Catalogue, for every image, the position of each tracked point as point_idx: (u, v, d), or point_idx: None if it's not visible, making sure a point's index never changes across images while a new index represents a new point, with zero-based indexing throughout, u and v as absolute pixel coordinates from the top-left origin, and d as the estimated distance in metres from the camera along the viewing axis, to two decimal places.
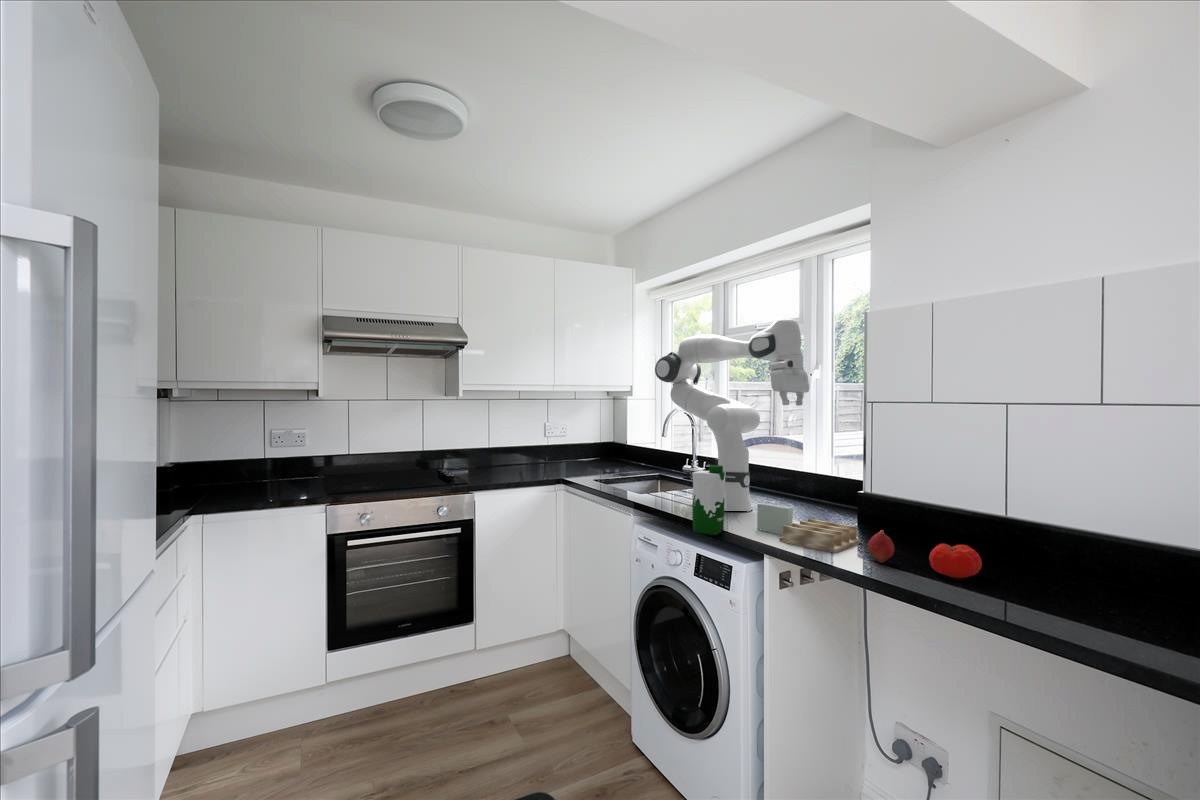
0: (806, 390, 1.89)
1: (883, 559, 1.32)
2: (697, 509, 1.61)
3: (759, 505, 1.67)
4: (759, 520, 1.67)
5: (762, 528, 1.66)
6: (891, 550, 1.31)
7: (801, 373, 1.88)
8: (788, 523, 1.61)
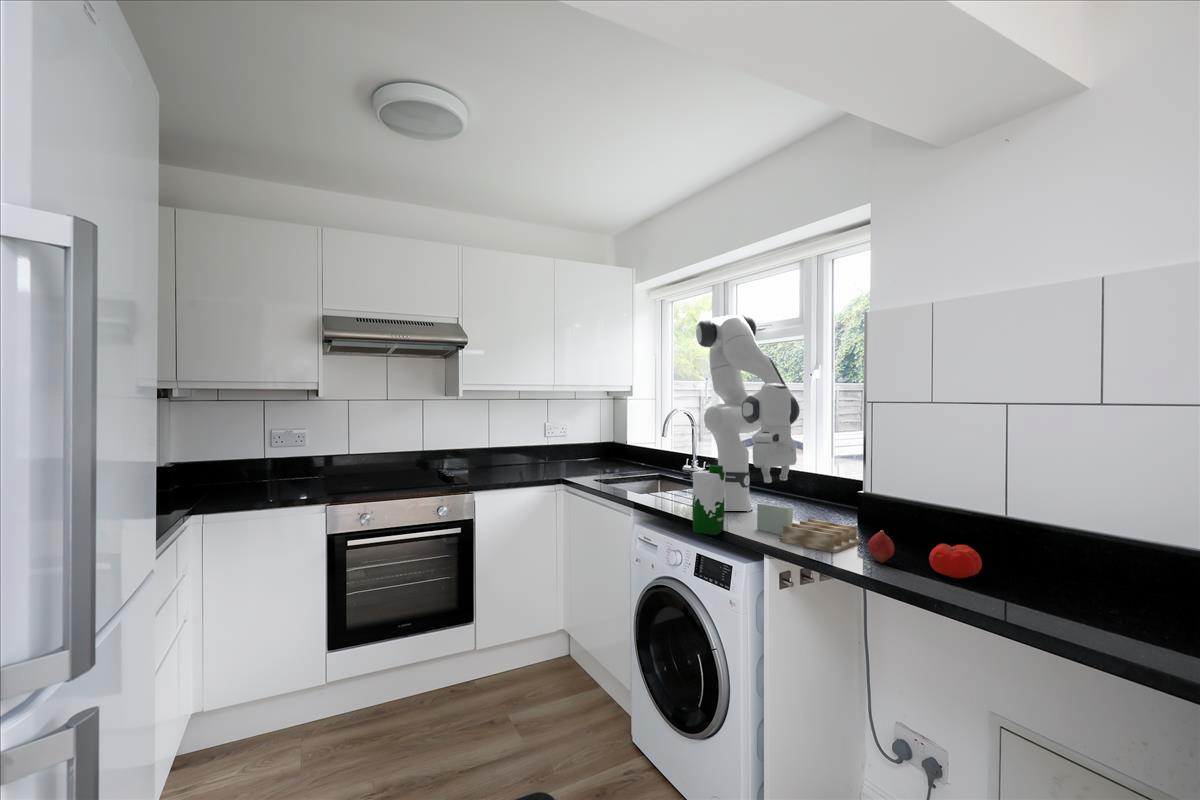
0: (792, 463, 1.69)
1: (883, 559, 1.32)
2: (697, 509, 1.61)
3: (759, 505, 1.67)
4: (759, 520, 1.67)
5: (762, 528, 1.66)
6: (891, 550, 1.31)
7: (788, 445, 1.67)
8: (788, 523, 1.61)
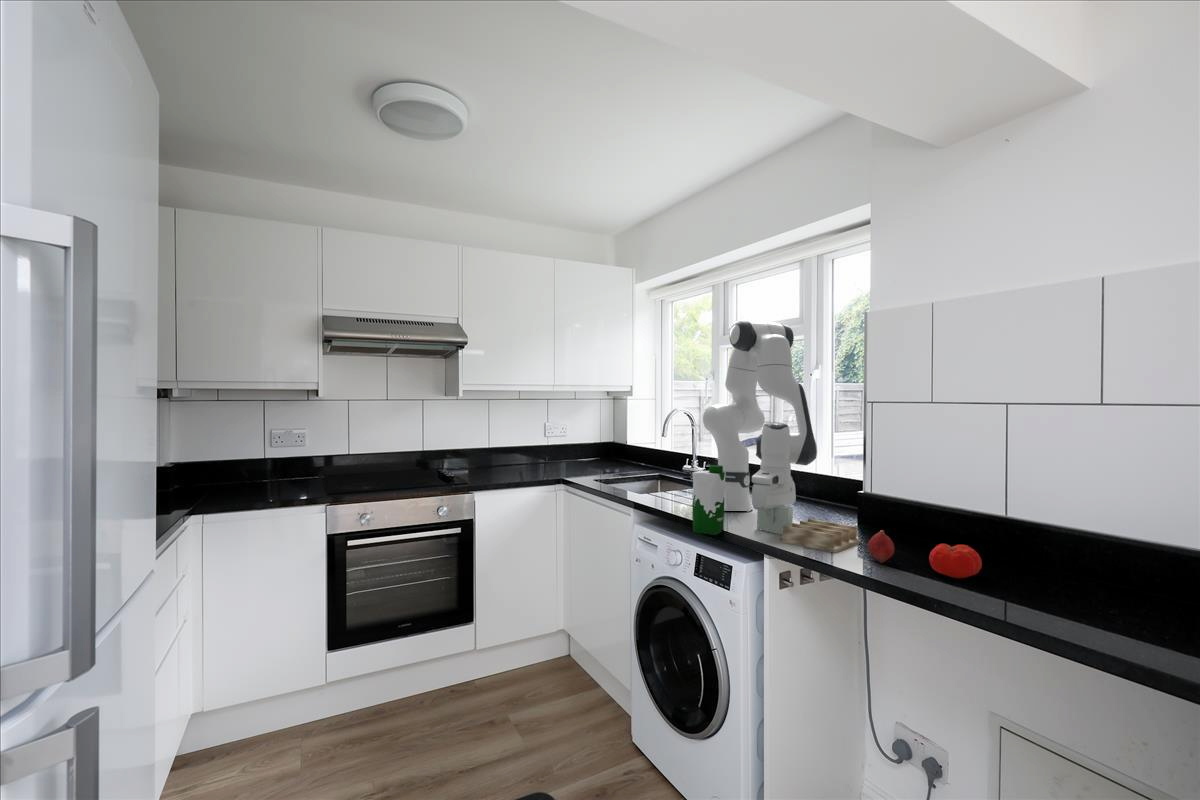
0: (792, 502, 1.69)
1: (883, 559, 1.32)
2: (697, 509, 1.61)
3: None
4: (759, 520, 1.67)
5: (762, 528, 1.66)
6: (891, 550, 1.31)
7: (788, 484, 1.67)
8: (788, 523, 1.61)
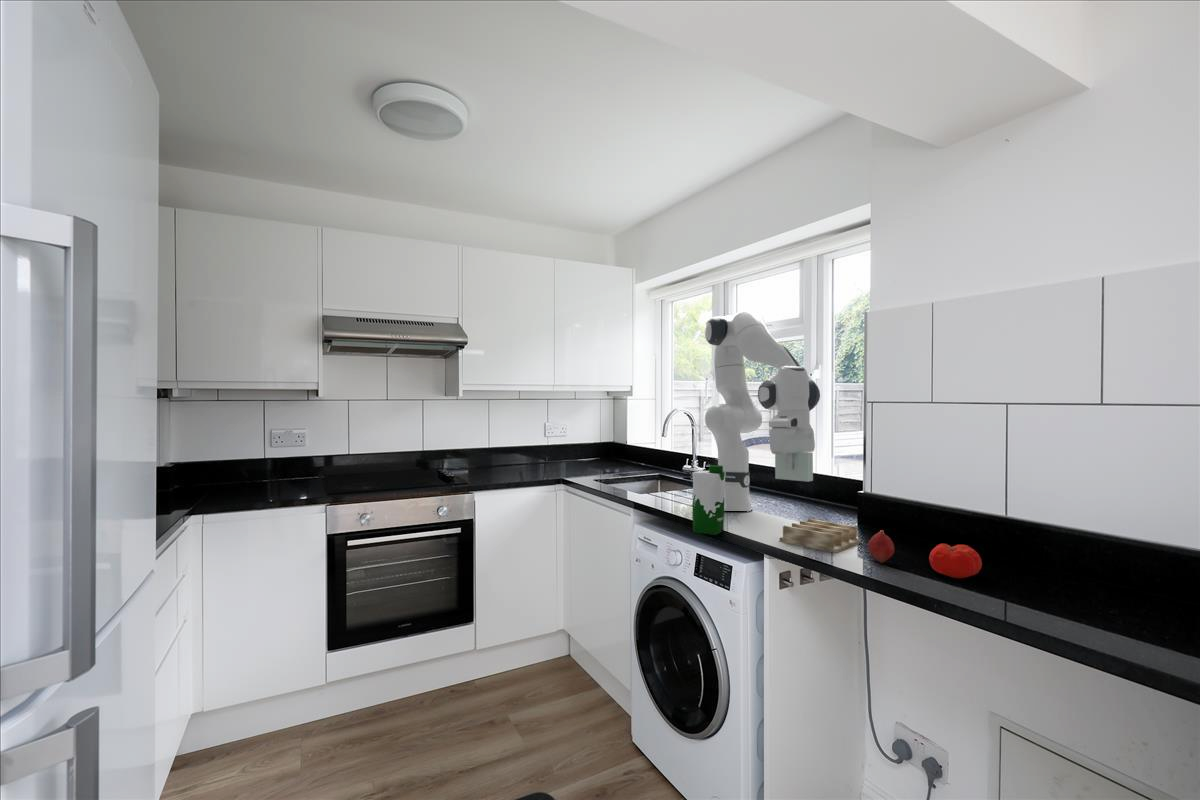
0: (811, 450, 1.61)
1: (883, 559, 1.32)
2: (697, 509, 1.61)
3: None
4: (777, 468, 1.59)
5: (781, 476, 1.58)
6: (891, 550, 1.31)
7: (806, 430, 1.59)
8: (808, 468, 1.52)
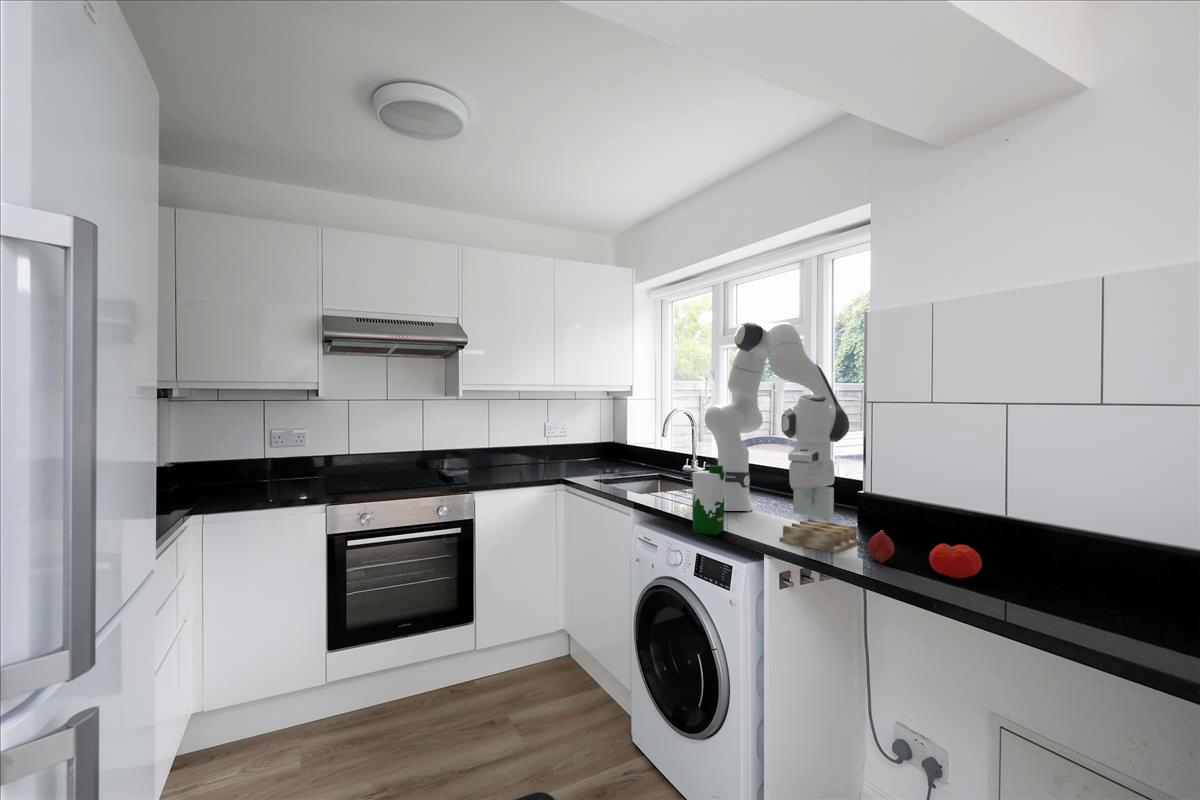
0: (831, 483, 1.53)
1: (883, 559, 1.32)
2: (697, 509, 1.61)
3: None
4: (795, 502, 1.51)
5: (799, 511, 1.51)
6: (891, 550, 1.31)
7: (827, 463, 1.51)
8: (829, 505, 1.45)
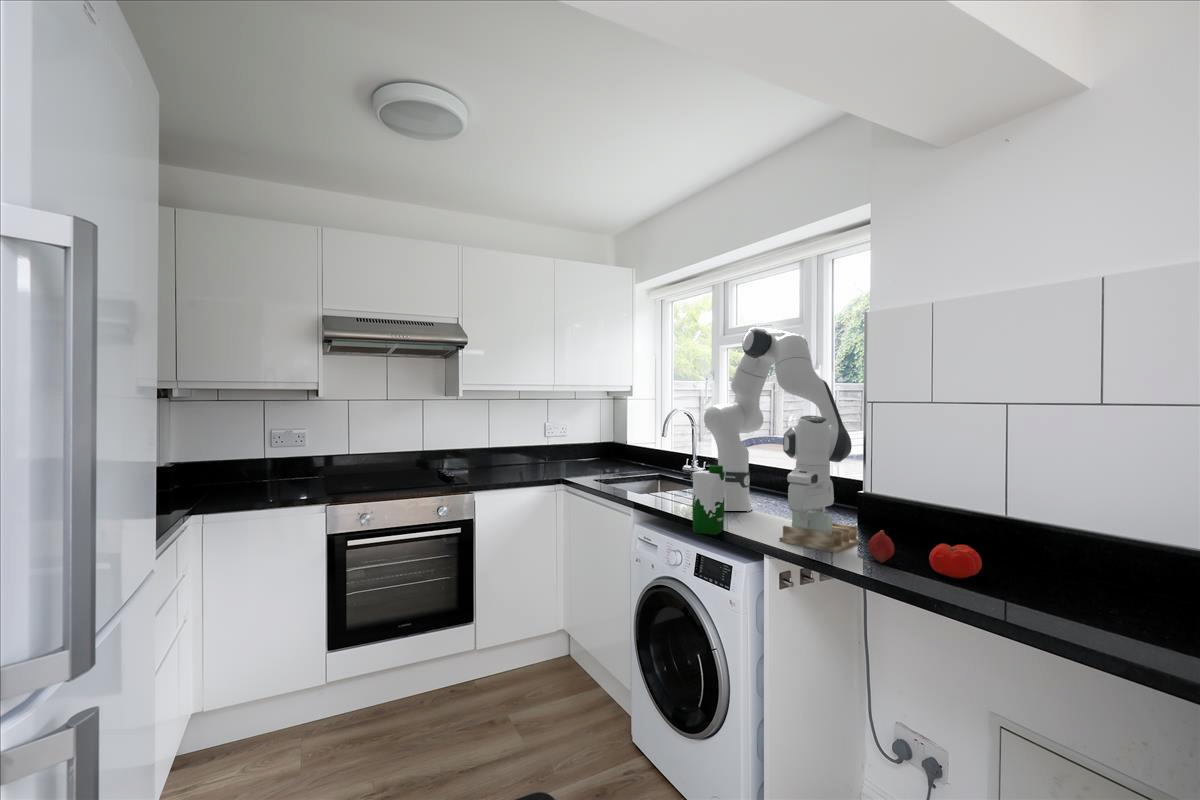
0: (830, 504, 1.53)
1: (883, 559, 1.32)
2: (697, 509, 1.61)
3: (794, 512, 1.52)
4: None
5: None
6: (891, 550, 1.31)
7: (826, 484, 1.51)
8: (828, 532, 1.45)
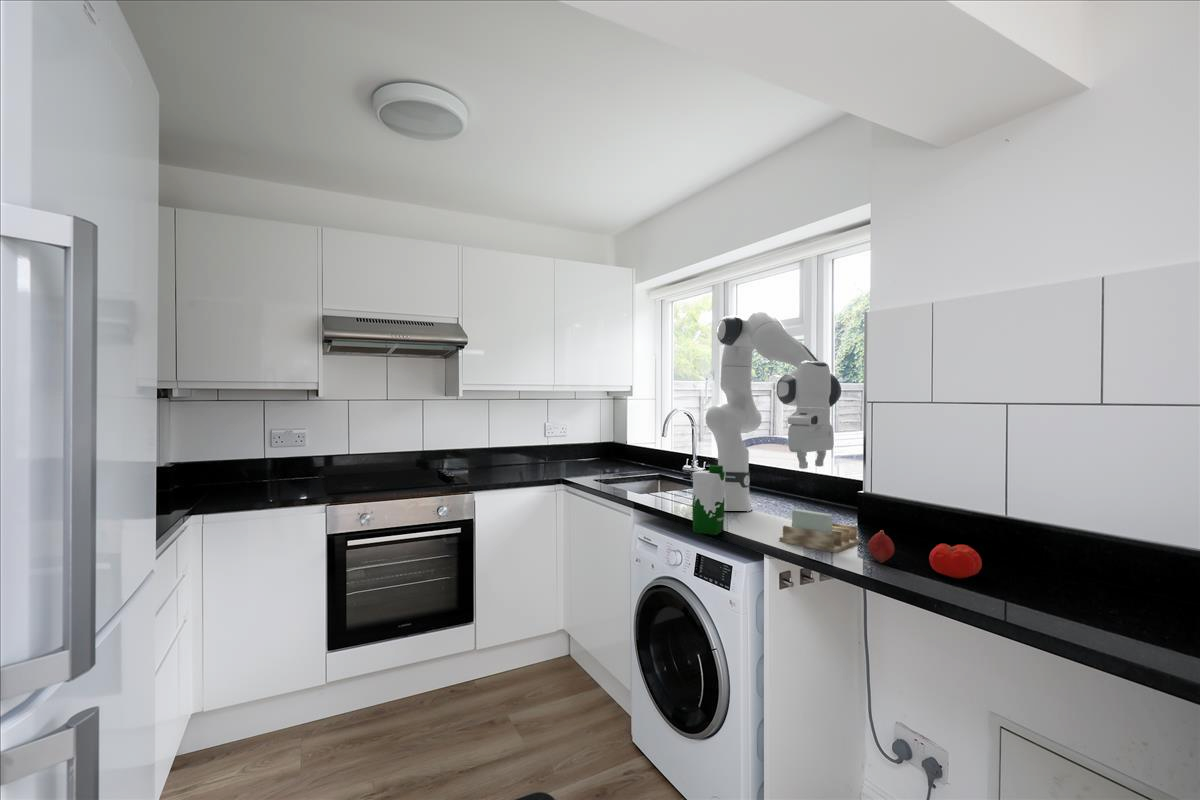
0: (829, 448, 1.56)
1: (883, 559, 1.32)
2: (697, 509, 1.61)
3: (794, 512, 1.52)
4: None
5: None
6: (891, 550, 1.31)
7: (826, 428, 1.54)
8: (828, 532, 1.45)
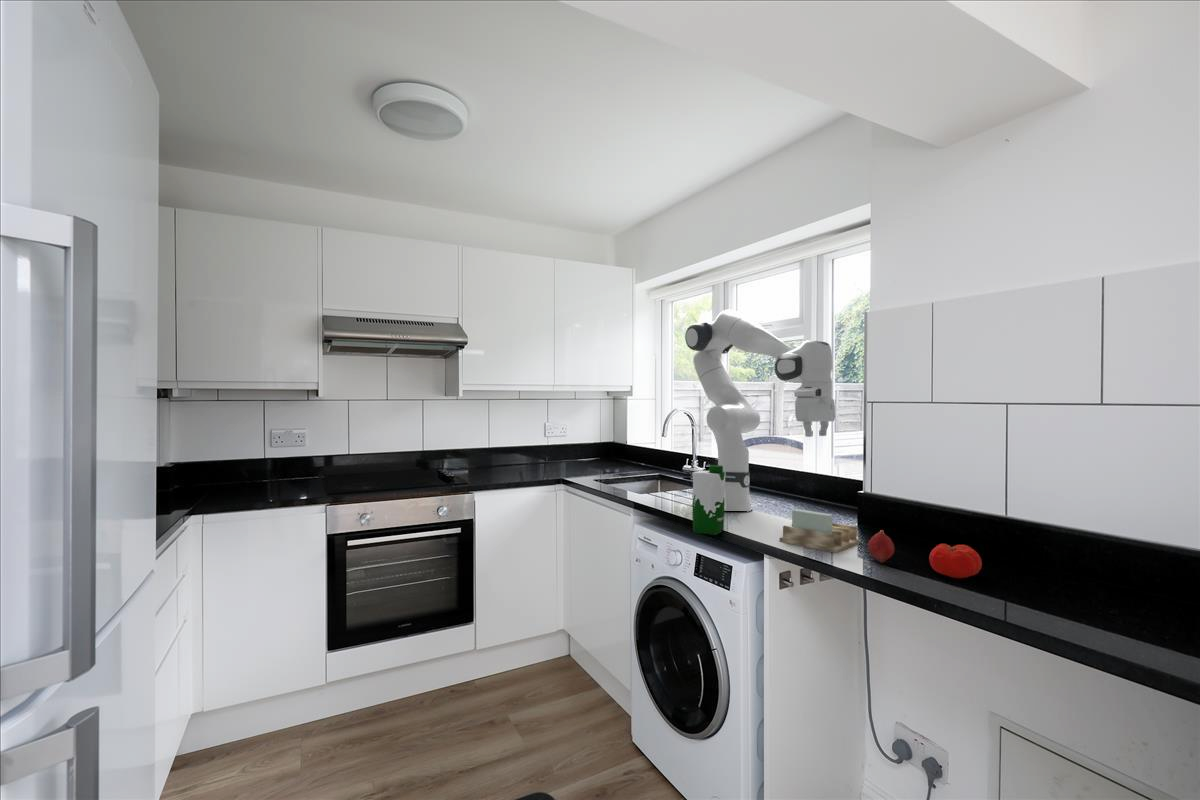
0: (832, 419, 1.72)
1: (883, 559, 1.32)
2: (697, 509, 1.61)
3: (794, 512, 1.52)
4: None
5: None
6: (891, 550, 1.31)
7: (828, 401, 1.71)
8: (828, 532, 1.45)
